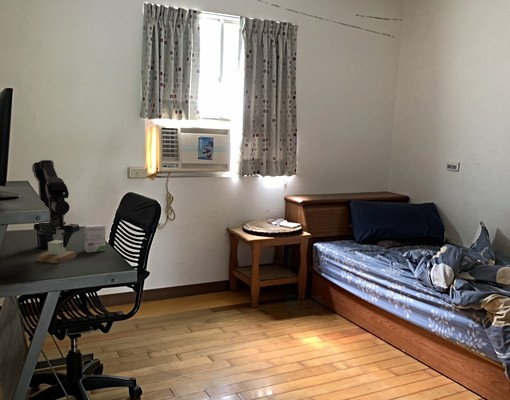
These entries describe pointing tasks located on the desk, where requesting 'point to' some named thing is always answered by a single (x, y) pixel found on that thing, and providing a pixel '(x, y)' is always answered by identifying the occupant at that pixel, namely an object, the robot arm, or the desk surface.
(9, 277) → the desk surface
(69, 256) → the walnut block
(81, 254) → the desk surface
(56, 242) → the sage cube
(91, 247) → the ink box
